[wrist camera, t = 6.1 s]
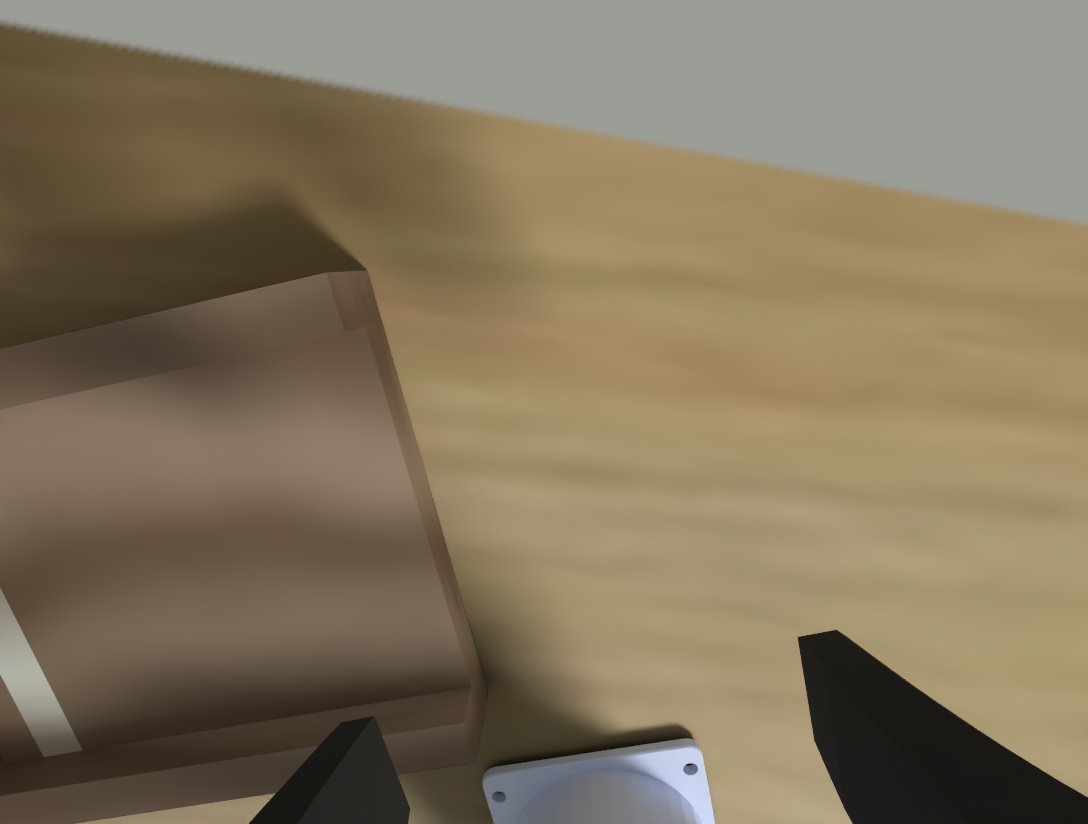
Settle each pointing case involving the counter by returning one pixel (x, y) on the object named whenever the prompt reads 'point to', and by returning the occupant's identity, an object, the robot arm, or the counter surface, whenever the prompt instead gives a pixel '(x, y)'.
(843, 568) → the counter surface
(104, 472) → the tray
